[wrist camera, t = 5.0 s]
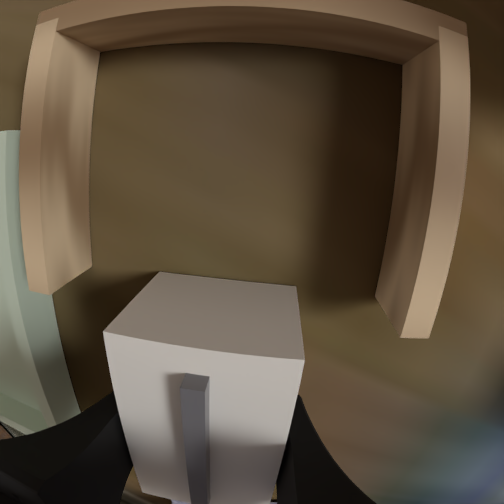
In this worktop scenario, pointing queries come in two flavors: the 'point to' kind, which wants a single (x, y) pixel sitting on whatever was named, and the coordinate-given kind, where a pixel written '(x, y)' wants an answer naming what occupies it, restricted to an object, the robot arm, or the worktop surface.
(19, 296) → the tray
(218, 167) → the worktop surface
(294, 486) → the robot arm
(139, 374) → the block
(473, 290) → the worktop surface
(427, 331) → the frame
